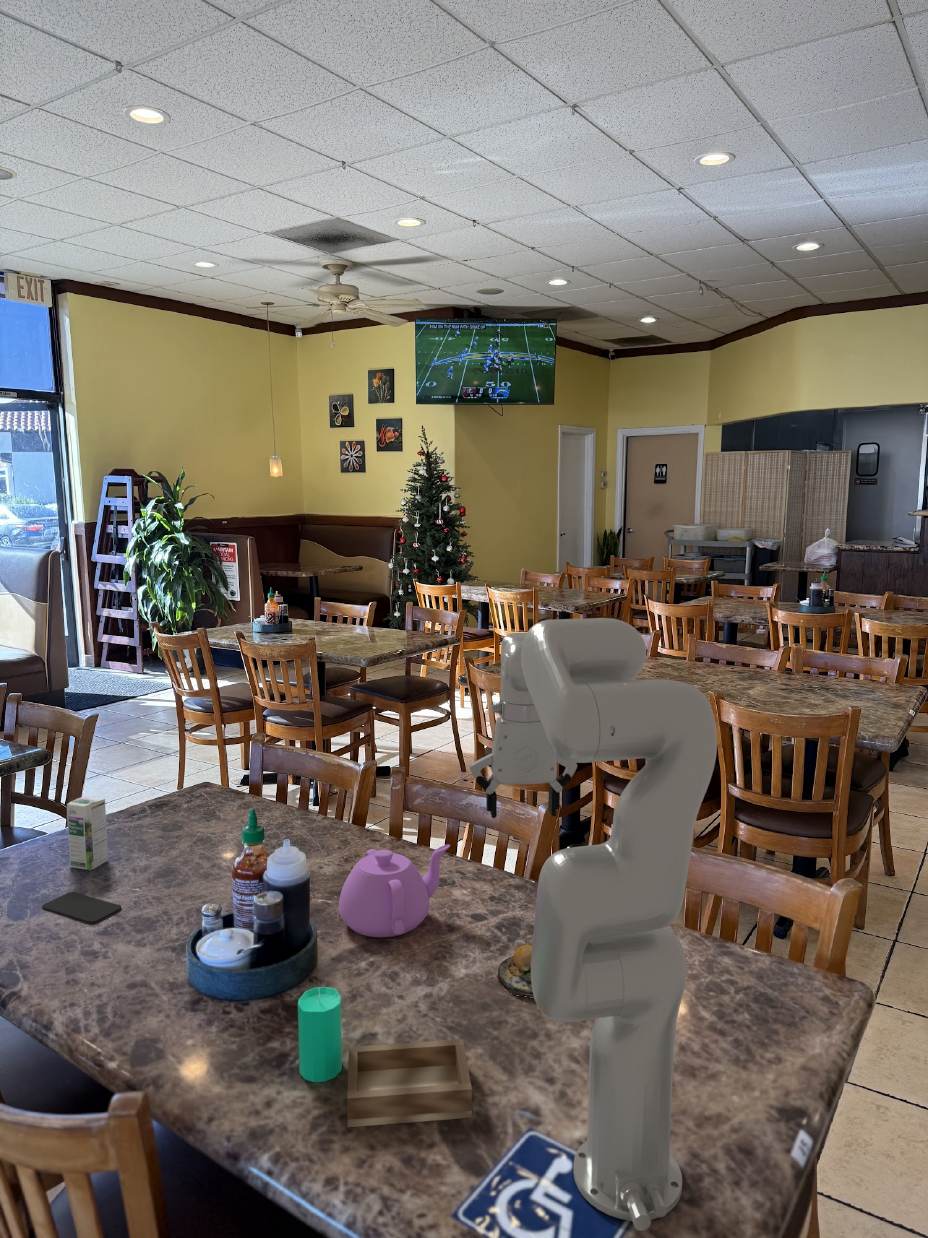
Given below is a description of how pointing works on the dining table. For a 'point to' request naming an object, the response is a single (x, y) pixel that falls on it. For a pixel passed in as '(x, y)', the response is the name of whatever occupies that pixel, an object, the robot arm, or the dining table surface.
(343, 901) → the teapot
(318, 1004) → the candle
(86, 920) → the phone
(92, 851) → the syrup box
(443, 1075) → the tray
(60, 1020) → the dining table surface
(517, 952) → the plate of food
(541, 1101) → the dining table surface
